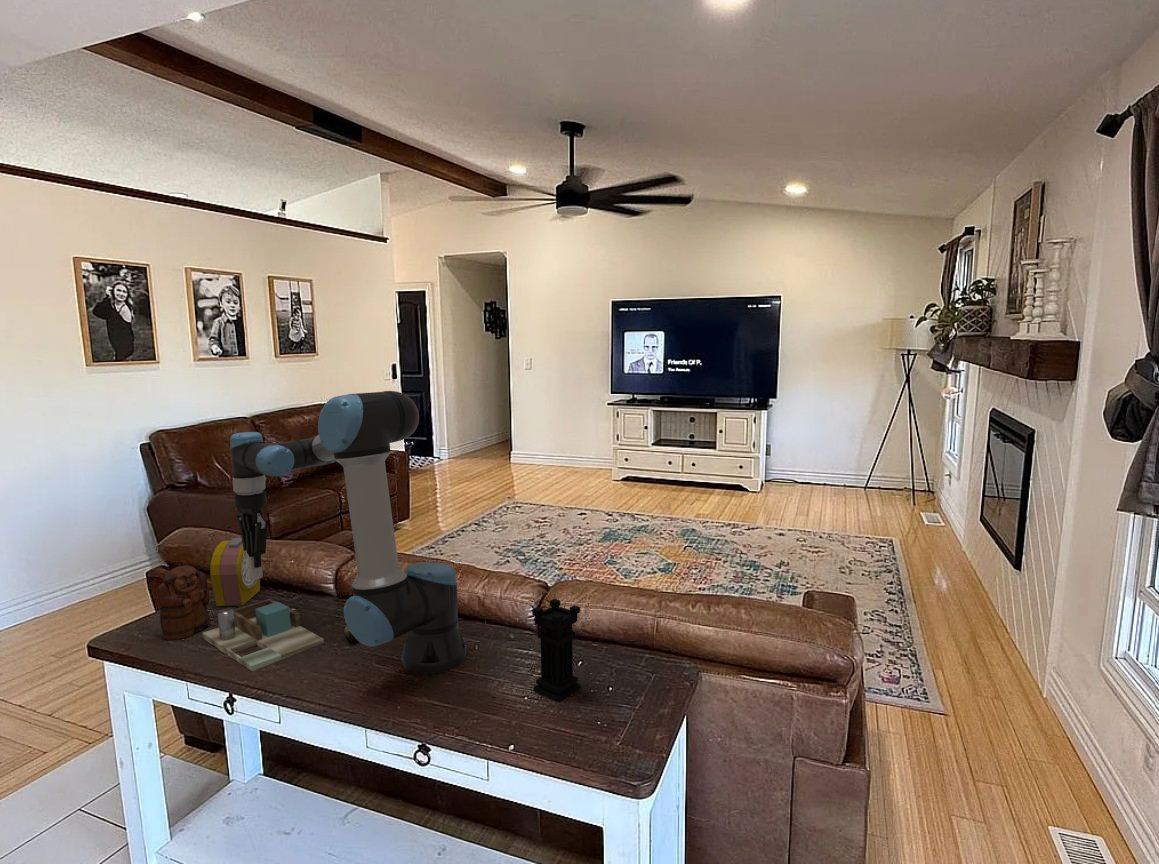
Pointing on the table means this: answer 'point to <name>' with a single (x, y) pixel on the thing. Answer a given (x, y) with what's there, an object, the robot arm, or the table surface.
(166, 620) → the wooden figurine
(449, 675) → the table surface
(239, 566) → the alarm clock
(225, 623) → the grey knob
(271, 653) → the board
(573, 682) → the chess piece
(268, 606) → the block
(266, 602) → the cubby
